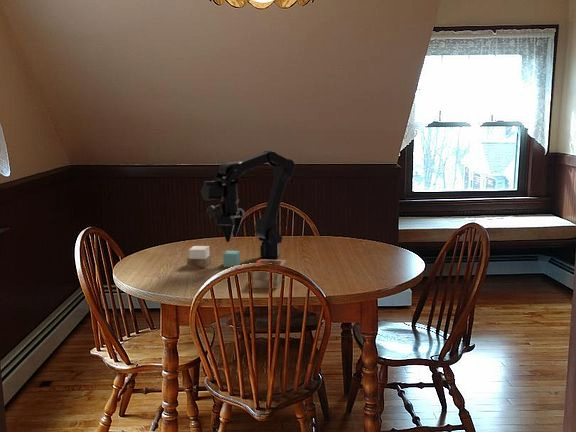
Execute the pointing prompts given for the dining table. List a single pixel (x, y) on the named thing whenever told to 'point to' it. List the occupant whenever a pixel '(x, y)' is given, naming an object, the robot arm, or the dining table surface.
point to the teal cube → (231, 258)
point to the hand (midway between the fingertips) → (231, 239)
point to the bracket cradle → (267, 276)
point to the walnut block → (199, 262)
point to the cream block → (199, 252)
